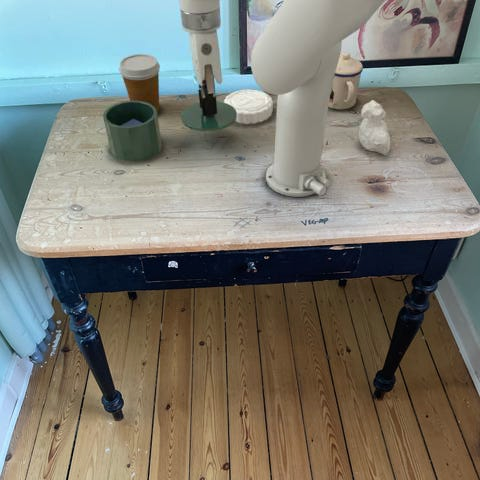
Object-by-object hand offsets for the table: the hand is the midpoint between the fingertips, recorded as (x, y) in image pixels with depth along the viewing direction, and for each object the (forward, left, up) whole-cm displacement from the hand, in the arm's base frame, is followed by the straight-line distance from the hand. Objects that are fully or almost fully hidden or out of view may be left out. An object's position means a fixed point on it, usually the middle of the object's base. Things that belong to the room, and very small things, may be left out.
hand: (208, 110), depth 108 cm
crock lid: (0, 0, -2) cm, 2 cm away
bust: (-24, -28, -8) cm, 38 cm away
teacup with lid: (-6, -36, -8) cm, 37 cm away
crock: (+8, +15, -8) cm, 19 cm away
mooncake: (+5, -15, -8) cm, 17 cm away
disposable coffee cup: (+21, +5, -8) cm, 23 cm away
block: (+8, +15, -7) cm, 18 cm away
